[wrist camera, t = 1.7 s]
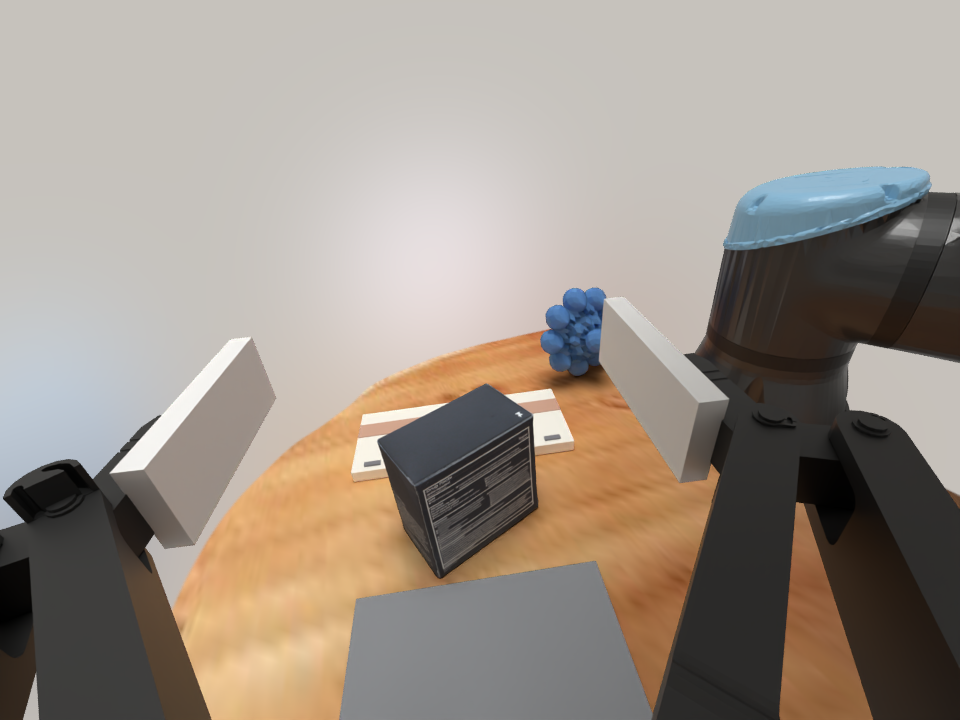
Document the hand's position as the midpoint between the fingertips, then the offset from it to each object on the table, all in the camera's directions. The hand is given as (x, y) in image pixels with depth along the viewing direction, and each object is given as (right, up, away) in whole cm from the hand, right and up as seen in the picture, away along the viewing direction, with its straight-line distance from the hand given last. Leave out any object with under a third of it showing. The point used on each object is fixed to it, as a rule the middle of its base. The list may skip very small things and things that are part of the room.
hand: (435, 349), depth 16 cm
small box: (+1, -14, +21) cm, 25 cm away
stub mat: (+2, -21, +9) cm, 23 cm away
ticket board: (0, -9, +29) cm, 31 cm away
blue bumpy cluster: (+15, -3, +37) cm, 40 cm away
